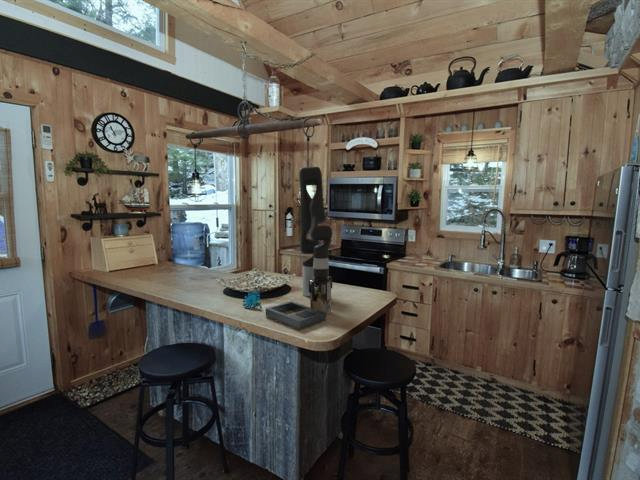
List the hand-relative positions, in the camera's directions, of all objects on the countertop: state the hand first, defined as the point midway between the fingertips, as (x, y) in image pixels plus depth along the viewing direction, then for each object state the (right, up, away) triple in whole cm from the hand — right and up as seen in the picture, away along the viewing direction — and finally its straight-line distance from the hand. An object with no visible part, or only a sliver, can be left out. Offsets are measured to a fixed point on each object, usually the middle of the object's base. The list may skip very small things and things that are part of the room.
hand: (320, 299), depth 168 cm
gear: (-35, -6, +8) cm, 36 cm away
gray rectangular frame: (-12, -8, -8) cm, 16 cm away
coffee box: (0, -7, +1) cm, 7 cm away
